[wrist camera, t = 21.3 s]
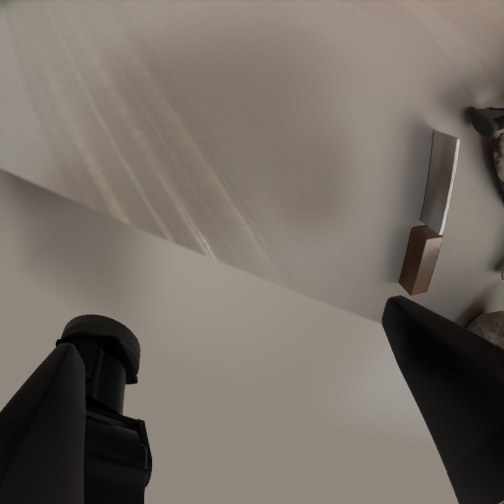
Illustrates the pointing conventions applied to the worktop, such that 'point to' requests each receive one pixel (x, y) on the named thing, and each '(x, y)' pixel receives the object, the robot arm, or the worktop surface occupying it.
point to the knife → (487, 120)
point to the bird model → (499, 158)
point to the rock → (489, 327)
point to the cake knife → (431, 216)
